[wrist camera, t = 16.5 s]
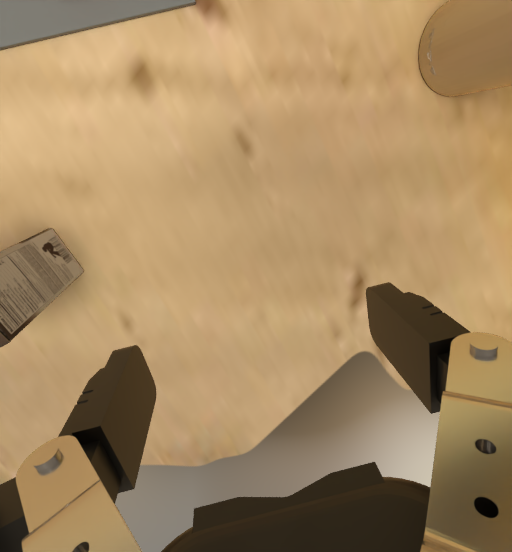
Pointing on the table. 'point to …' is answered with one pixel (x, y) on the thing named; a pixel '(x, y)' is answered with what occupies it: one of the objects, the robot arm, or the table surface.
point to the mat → (70, 16)
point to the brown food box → (32, 280)
